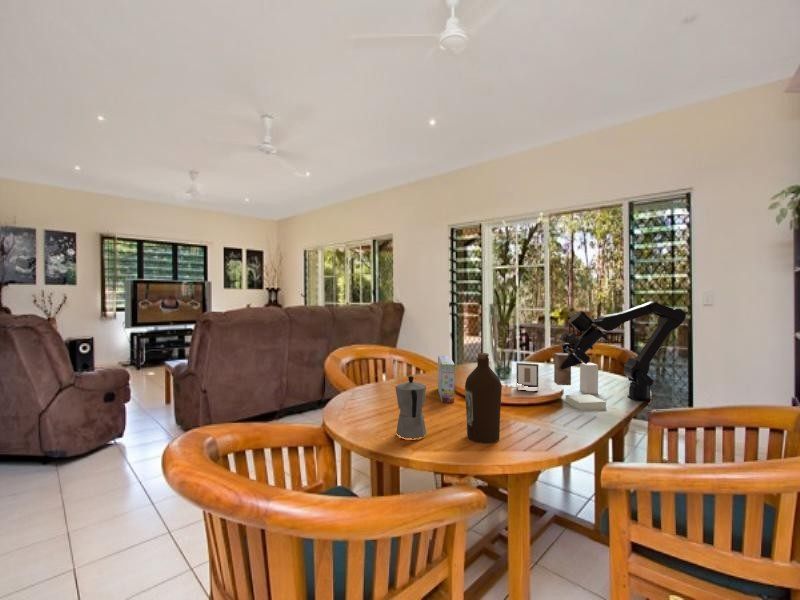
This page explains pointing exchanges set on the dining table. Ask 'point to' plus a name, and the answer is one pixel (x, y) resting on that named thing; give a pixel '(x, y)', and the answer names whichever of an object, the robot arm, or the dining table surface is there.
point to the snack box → (446, 378)
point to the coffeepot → (411, 409)
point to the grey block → (589, 378)
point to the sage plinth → (585, 402)
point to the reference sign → (527, 374)
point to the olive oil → (483, 402)
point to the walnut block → (561, 370)
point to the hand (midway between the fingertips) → (558, 367)
